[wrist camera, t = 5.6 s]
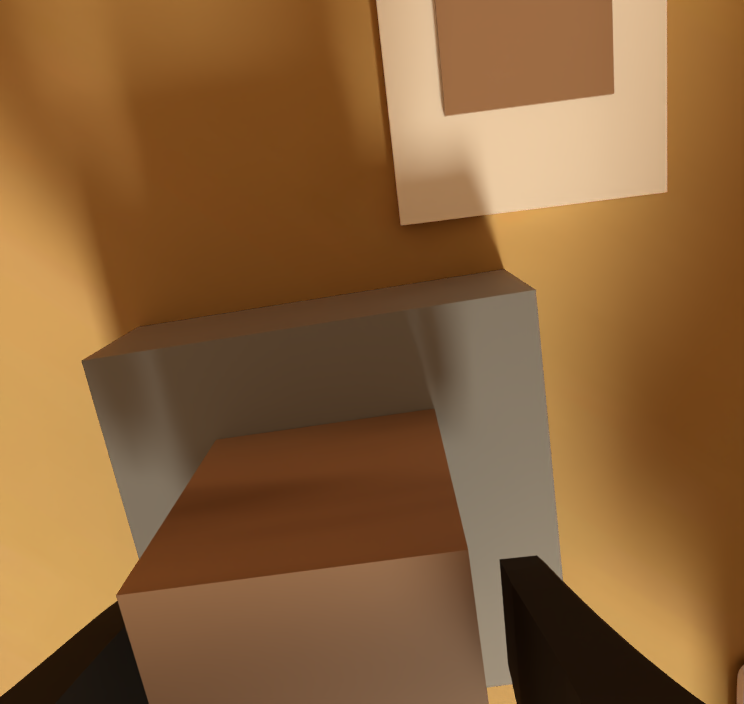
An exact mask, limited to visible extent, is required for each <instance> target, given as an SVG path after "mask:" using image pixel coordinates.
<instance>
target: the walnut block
mask: <svg viewBox="0 0 744 704" xmlns="http://www.w3.org/2000/svg"><path fill="white" fill-rule="evenodd" d="M116 597H117V600H118V604H119V607H120V610H121V614H122V617H123V620H124V623H125V627H126V630H127V633H128V637H129V640H130V643H131V646H132V650H133V653H134V656H135V660H136V663H137V666H138V669H139V673H140V676H141V679H142V682H143V686H144V689H145V692H146V696H147V699H148V702H149V704H489V702H488V695H487V687H486V680H485V672H484V665H483V657H482V650H481V642H480V635H479V627H478V620H477V612H476V604H475V597H474V589H473V582H472V574H471V567H470V559H469V552H468V547H467V542H466V538H465V534H464V530H463V526H462V521H461V517H460V513H459V509H458V505H457V501H456V496H455V492H454V488H453V484H452V480H451V475H450V471H449V467H448V463H447V459H446V454H445V450H444V446H443V442H442V438H441V433H440V429H439V425H438V421H437V417H436V412H435V409H428V410H421V411H414V412H407V413H400V414H393V415H386V416H379V417H372V418H365V419H358V420H351V421H344V422H337V423H330V424H323V425H316V426H309V427H302V428H295V429H288V430H281V431H274V432H267V433H260V434H252V435H245V436H238V437H231V438H224V439H217V440H216V441H215V442H214V444H213V445H212V447H211V448H210V450H209V452H208V453H207V455H206V456H205V458H204V459H203V461H202V462H201V464H200V466H199V467H198V469H197V470H196V472H195V473H194V475H193V476H192V478H191V480H190V481H189V483H188V484H187V486H186V487H185V489H184V490H183V492H182V494H181V495H180V497H179V498H178V500H177V501H176V503H175V504H174V506H173V508H172V509H171V511H170V512H169V514H168V515H167V517H166V518H165V520H164V522H163V523H162V525H161V526H160V528H159V529H158V531H157V533H156V534H155V536H154V537H153V539H152V540H151V542H150V543H149V545H148V547H147V548H146V550H145V551H144V553H143V554H142V556H141V557H140V559H139V561H138V562H137V564H136V565H135V567H134V568H133V570H132V571H131V573H130V575H129V576H128V578H127V579H126V581H125V582H124V584H123V585H122V587H121V589H120V590H119V592H118V593H117V595H116Z"/></svg>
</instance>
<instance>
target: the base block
mask: <svg viewBox="0 0 744 704" xmlns="http://www.w3.org/2000/svg"><path fill="white" fill-rule="evenodd" d="M82 364H83V368H84V371H85V375H86V378H87V381H88V385H89V388H90V392H91V395H92V399H93V402H94V406H95V409H96V412H97V416H98V419H99V423H100V426H101V430H102V433H103V436H104V440H105V443H106V447H107V450H108V454H109V457H110V461H111V464H112V467H113V471H114V474H115V478H116V481H117V485H118V488H119V492H120V495H121V498H122V502H123V505H124V509H125V512H126V516H127V519H128V523H129V526H130V529H131V533H132V536H133V540H134V543H135V547H136V550H137V553H138V557H139V559H140V557H141V556H142V554H143V553H144V551H145V550H146V548H147V547H148V545H149V543H150V542H151V540H152V539H153V537H154V536H155V534H156V533H157V531H158V529H159V528H160V526H161V525H162V523H163V522H164V520H165V518H166V517H167V515H168V514H169V512H170V511H171V509H172V508H173V506H174V504H175V503H176V501H177V500H178V498H179V497H180V495H181V494H182V492H183V490H184V489H185V487H186V486H187V484H188V483H189V481H190V480H191V478H192V476H193V475H194V473H195V472H196V470H197V469H198V467H199V466H200V464H201V462H202V461H203V459H204V458H205V456H206V455H207V453H208V452H209V450H210V448H211V447H212V445H213V444H214V442H215V441H216V440H217V439H224V438H231V437H238V436H245V435H252V434H260V433H267V432H274V431H281V430H288V429H295V428H302V427H309V426H316V425H323V424H330V423H337V422H344V421H351V420H358V419H365V418H372V417H379V416H386V415H393V414H400V413H407V412H414V411H421V410H428V409H435V412H436V417H437V421H438V425H439V429H440V433H441V438H442V442H443V446H444V450H445V454H446V459H447V463H448V467H449V471H450V475H451V480H452V484H453V488H454V492H455V496H456V501H457V505H458V509H459V513H460V517H461V521H462V526H463V530H464V534H465V538H466V542H467V547H468V552H469V559H470V567H471V574H472V582H473V589H474V597H475V604H476V612H477V620H478V627H479V635H480V642H481V650H482V657H483V665H484V672H485V680H486V687H494V686H501V685H509V684H512V680H511V675H510V671H509V667H508V659H507V647H506V634H505V622H504V610H503V597H502V585H501V572H500V560H499V559H507V558H517V557H526V556H536V555H537V556H538V557H539V558H541V559H542V560H543V561H544V562H545V563H546V564H547V565H548V566H549V567H550V568H551V569H552V570H553V571H554V572H555V573H556V574H557V575H558V576H559V578H560V579H561V580H562V581H563V576H562V566H561V555H560V544H559V534H558V523H557V512H556V502H555V491H554V480H553V469H552V459H551V448H550V437H549V427H548V416H547V405H546V395H545V384H544V373H543V363H542V352H541V341H540V331H539V320H538V309H537V299H536V290H535V289H534V288H532V287H531V286H529V285H528V284H526V283H524V282H523V281H521V280H520V279H518V278H517V277H515V276H514V275H512V274H511V273H509V272H508V271H506V270H505V269H501V270H495V271H489V272H482V273H476V274H470V275H463V276H457V277H451V278H444V279H438V280H432V281H425V282H419V283H413V284H406V285H400V286H394V287H387V288H381V289H375V290H368V291H362V292H356V293H349V294H343V295H337V296H330V297H324V298H318V299H311V300H305V301H299V302H292V303H286V304H280V305H273V306H267V307H261V308H254V309H248V310H242V311H236V312H229V313H223V314H217V315H210V316H204V317H198V318H191V319H185V320H179V321H172V322H166V323H160V324H153V325H147V326H141V327H137V328H136V329H134V330H132V331H131V332H129V333H127V334H126V335H124V336H122V337H120V338H119V339H117V340H115V341H114V342H112V343H110V344H109V345H107V346H105V347H104V348H102V349H100V350H99V351H97V352H95V353H94V354H92V355H90V356H89V357H87V358H85V359H84V360H82Z"/></svg>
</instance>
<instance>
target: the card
mask: <svg viewBox="0 0 744 704" xmlns="http://www.w3.org/2000/svg"><path fill="white" fill-rule="evenodd" d="M376 7H377V16H378V25H379V34H380V43H381V52H382V61H383V71H384V80H385V89H386V98H387V107H388V116H389V125H390V134H391V143H392V153H393V162H394V171H395V180H396V189H397V198H398V207H399V216H400V225H409V224H417V223H425V222H433V221H441V220H449V219H457V218H465V217H473V216H481V215H489V214H497V213H505V212H513V211H521V210H529V209H537V208H545V207H553V206H561V205H569V204H577V203H585V202H593V201H601V200H609V199H617V198H625V197H633V196H641V195H649V194H657V193H664V192H667V0H376Z"/></svg>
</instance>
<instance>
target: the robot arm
mask: <svg viewBox="0 0 744 704" xmlns="http://www.w3.org/2000/svg"><path fill="white" fill-rule="evenodd" d="M499 560H500V572H501V585H502V597H503V610H504V622H505V634H506V647H507V659H508V667H509V671H510V675H511V680H512V684H513V689H514V693H515V698H516V702H517V704H705V703H704V702H702V701H701V700H699V699H698V698H697V697H695V696H694V695H692V694H691V693H690V692H688V691H687V690H686V689H685V688H683V687H682V686H681V685H679V684H678V683H677V682H675V681H674V680H673V679H672V678H670V677H669V676H668V675H667V674H665V673H664V672H663V671H662V670H660V669H659V668H658V667H657V666H655V665H654V664H653V663H652V662H651V661H649V660H648V659H647V658H646V657H644V656H643V655H642V654H641V653H640V652H639V651H637V650H636V649H635V648H634V647H633V646H632V645H630V644H629V643H628V642H627V641H626V640H625V639H624V638H622V637H621V636H620V635H619V634H618V633H617V632H616V631H615V630H614V629H613V628H611V627H610V626H609V625H608V624H607V623H606V622H605V621H604V620H603V619H601V618H600V617H599V616H598V615H597V614H596V613H595V612H594V611H593V610H592V609H591V608H590V607H589V606H588V605H587V604H586V603H584V602H583V601H582V600H581V599H580V598H579V597H578V596H577V595H576V594H575V593H574V592H573V591H572V590H571V589H570V588H569V587H568V586H567V585H566V584H565V583H564V582H563V581H562V580H561V579H560V578H559V576H558V575H557V574H556V573H555V572H554V571H553V570H552V569H551V568H550V567H549V566H548V565H547V564H546V563H545V562H544V561H543V560H542V559H541V558H539V557H538V556H537V555H536V556H526V557H517V558H507V559H499ZM0 704H149V702H148V699H147V696H146V692H145V689H144V686H143V682H142V679H141V676H140V673H139V669H138V666H137V663H136V660H135V656H134V653H133V650H132V646H131V643H130V640H129V637H128V633H127V630H126V627H125V623H124V620H123V617H122V614H121V610H120V607H119V604H118V601H117V602H115V603H114V604H113V605H111V606H110V607H108V608H107V609H106V610H105V611H103V612H102V613H101V614H100V615H98V616H97V617H96V618H95V619H93V620H92V621H91V622H90V623H89V624H87V625H86V626H85V627H84V628H83V629H81V630H80V631H79V632H78V633H77V634H75V635H74V636H73V637H72V638H71V639H70V640H68V641H67V642H66V643H65V644H64V645H62V646H61V647H60V648H59V649H58V650H57V651H55V652H54V653H53V654H52V655H51V656H49V657H48V658H47V659H46V660H45V661H43V662H42V663H41V664H40V665H39V666H37V667H36V668H35V669H34V670H33V671H31V672H30V673H29V674H28V675H27V676H25V677H24V678H23V679H22V680H21V681H19V682H18V683H17V684H16V685H15V686H13V687H12V688H11V689H10V690H9V691H7V692H6V693H5V694H3V695H2V696H1V697H0ZM737 704H744V664H743V666H742V667H741V668H740V670H739V672H738V677H737Z"/></svg>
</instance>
